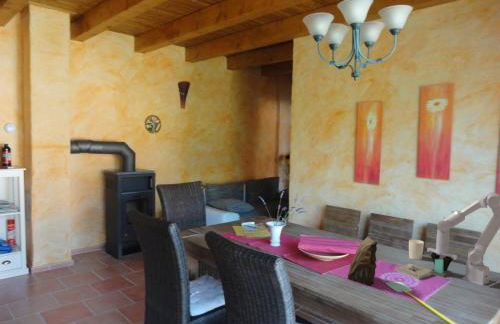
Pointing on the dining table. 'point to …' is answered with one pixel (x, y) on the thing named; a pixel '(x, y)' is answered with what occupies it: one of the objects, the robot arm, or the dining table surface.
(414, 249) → the beige tapered cup
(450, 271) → the dark brown square tray
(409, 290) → the dining table surface
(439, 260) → the mint green block
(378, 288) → the dining table surface
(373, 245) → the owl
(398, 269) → the port
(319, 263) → the dining table surface
